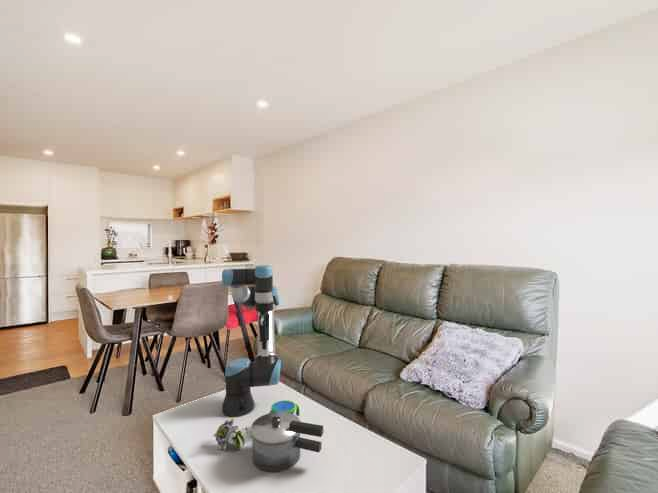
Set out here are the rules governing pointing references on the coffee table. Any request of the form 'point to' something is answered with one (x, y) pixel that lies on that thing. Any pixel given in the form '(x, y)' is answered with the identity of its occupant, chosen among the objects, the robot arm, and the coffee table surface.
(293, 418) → the cooker lid
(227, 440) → the passion flower
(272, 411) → the snack cup
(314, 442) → the cooker pot
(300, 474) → the coffee table surface
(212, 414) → the coffee table surface
